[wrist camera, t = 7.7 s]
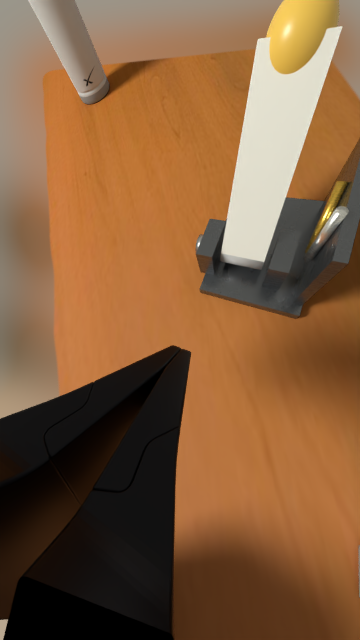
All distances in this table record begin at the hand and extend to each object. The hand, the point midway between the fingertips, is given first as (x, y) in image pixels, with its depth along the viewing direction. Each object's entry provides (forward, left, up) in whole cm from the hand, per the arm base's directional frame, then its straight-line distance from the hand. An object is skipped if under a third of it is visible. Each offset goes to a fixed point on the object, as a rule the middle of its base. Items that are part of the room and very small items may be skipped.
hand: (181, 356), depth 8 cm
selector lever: (+9, +6, -10) cm, 15 cm away
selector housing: (+12, +7, -12) cm, 19 cm away
